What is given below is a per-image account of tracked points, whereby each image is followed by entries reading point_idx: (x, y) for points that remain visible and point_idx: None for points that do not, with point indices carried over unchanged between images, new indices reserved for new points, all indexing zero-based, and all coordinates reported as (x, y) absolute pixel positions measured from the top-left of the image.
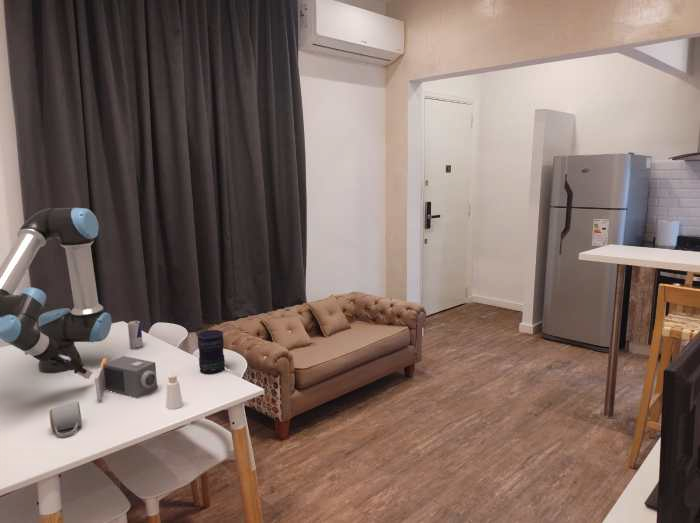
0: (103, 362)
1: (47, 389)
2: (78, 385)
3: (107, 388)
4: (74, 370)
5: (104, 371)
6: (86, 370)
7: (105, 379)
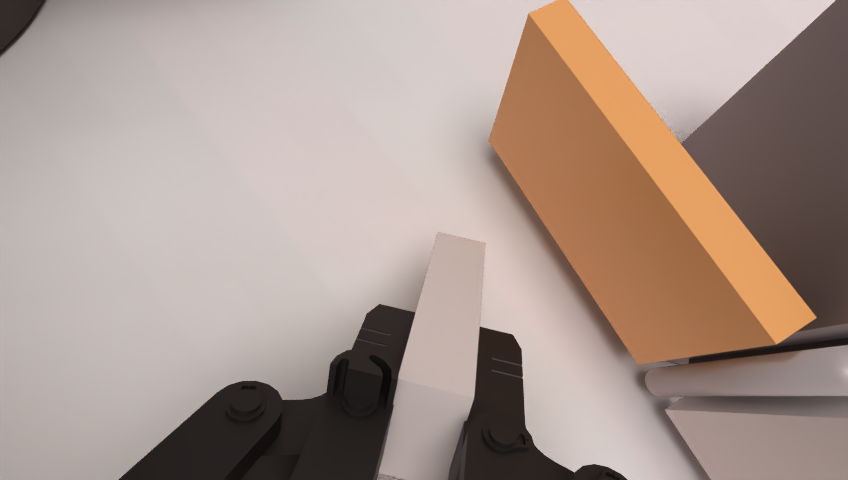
0: (654, 141)
1: (60, 440)
2: (317, 301)
3: (689, 361)
4: (399, 467)
5: (801, 337)
6: (518, 350)
7: (741, 357)
